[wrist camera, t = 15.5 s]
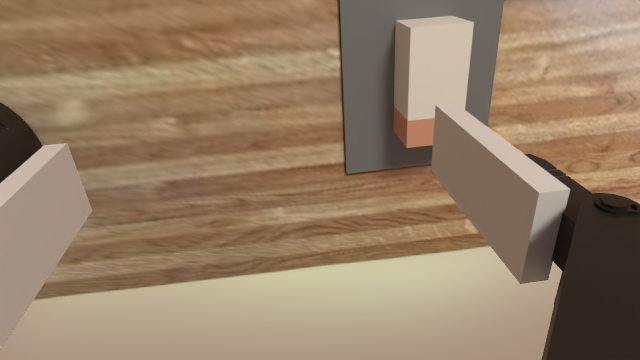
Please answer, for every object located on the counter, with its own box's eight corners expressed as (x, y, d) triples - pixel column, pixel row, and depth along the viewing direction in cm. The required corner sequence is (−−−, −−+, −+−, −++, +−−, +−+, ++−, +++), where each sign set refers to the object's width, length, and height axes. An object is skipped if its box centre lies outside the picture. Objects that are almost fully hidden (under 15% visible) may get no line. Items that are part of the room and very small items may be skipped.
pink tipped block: (395, 20, 43) (410, 27, 39) (452, 15, 44) (474, 22, 39) (393, 130, 49) (406, 148, 44) (443, 125, 49) (461, 141, 45)
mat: (345, 172, 51) (346, 173, 51) (337, -32, 41) (338, -32, 40) (481, 156, 52) (483, 158, 52) (507, -45, 42) (509, -45, 42)
